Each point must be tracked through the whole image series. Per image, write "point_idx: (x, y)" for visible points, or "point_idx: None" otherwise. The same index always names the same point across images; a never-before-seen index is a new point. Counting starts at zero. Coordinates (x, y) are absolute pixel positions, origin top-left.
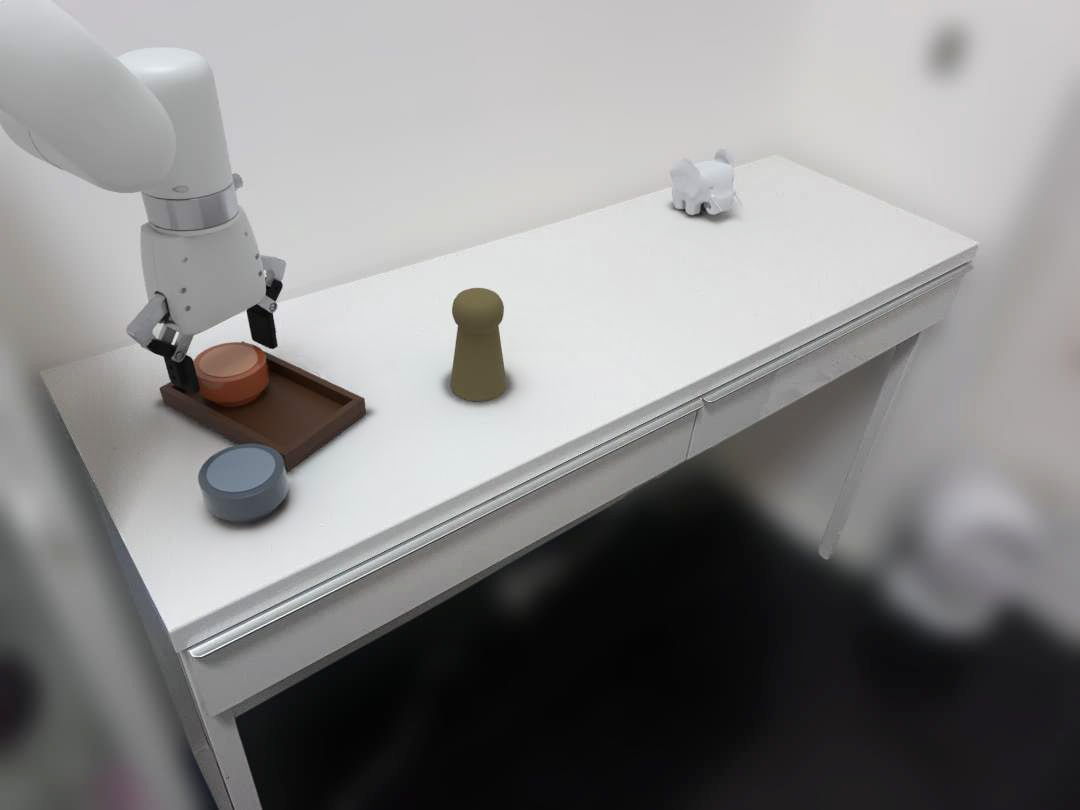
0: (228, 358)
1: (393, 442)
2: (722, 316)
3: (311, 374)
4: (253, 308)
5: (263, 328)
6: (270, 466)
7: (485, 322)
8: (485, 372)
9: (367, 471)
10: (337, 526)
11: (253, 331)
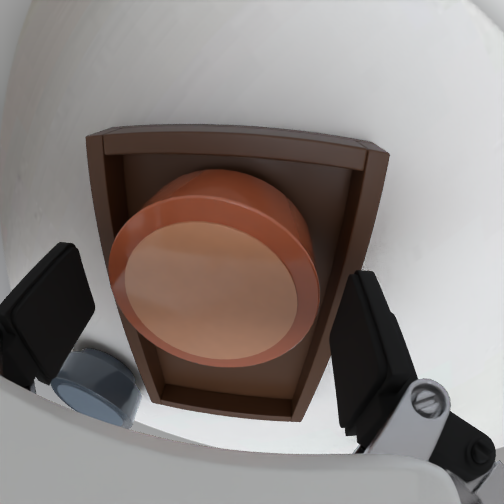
0: (212, 298)
1: (269, 424)
2: None
3: (324, 364)
4: (375, 407)
5: (342, 377)
6: (114, 423)
7: None
8: None
9: (217, 422)
10: (152, 420)
11: (353, 312)
